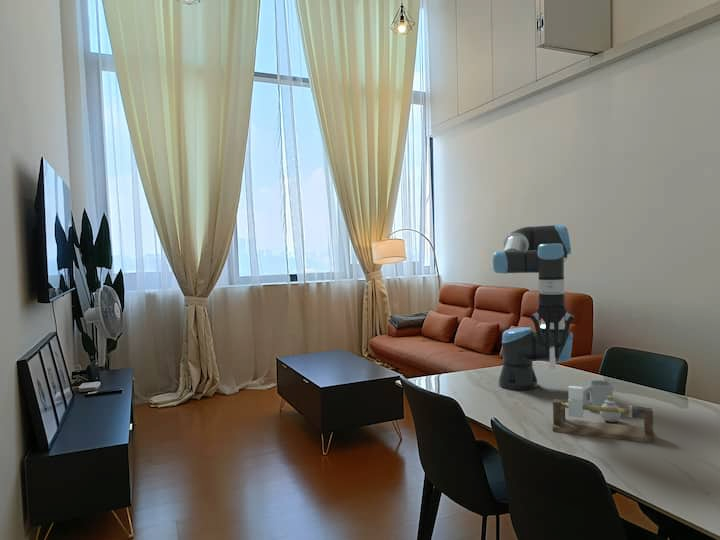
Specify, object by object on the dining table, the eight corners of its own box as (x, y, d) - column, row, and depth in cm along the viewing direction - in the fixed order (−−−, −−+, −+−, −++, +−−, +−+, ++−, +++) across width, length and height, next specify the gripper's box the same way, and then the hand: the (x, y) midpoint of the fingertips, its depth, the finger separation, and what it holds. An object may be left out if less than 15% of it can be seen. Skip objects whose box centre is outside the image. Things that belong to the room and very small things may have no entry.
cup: (616, 412, 169) (616, 385, 168) (586, 412, 170) (585, 386, 169) (608, 405, 176) (607, 380, 175) (578, 405, 177) (578, 380, 176)
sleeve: (568, 416, 153) (568, 388, 153) (569, 411, 158) (569, 384, 157) (582, 417, 152) (582, 390, 151) (583, 412, 156) (582, 385, 156)
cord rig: (552, 431, 154) (552, 402, 153) (555, 421, 162) (554, 394, 161) (654, 443, 142) (653, 412, 142) (651, 432, 150) (650, 403, 150)
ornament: (624, 424, 157) (623, 393, 156) (599, 424, 158) (599, 393, 157) (616, 418, 163) (615, 387, 162) (592, 418, 164) (592, 388, 163)
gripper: (528, 293, 155) (529, 369, 156) (573, 294, 150) (574, 372, 151) (530, 291, 162) (532, 364, 163) (574, 292, 156) (575, 366, 157)
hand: (552, 367), depth 157 cm, fingers closed
